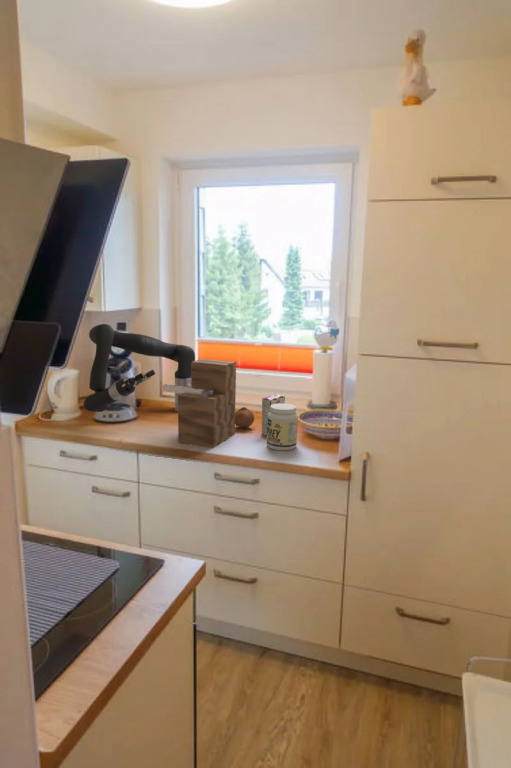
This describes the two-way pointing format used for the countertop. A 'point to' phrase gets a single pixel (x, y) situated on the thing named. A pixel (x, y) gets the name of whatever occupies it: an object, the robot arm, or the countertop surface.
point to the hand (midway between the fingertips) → (148, 373)
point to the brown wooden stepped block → (208, 404)
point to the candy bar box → (266, 408)
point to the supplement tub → (282, 427)
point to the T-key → (190, 390)
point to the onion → (244, 418)
